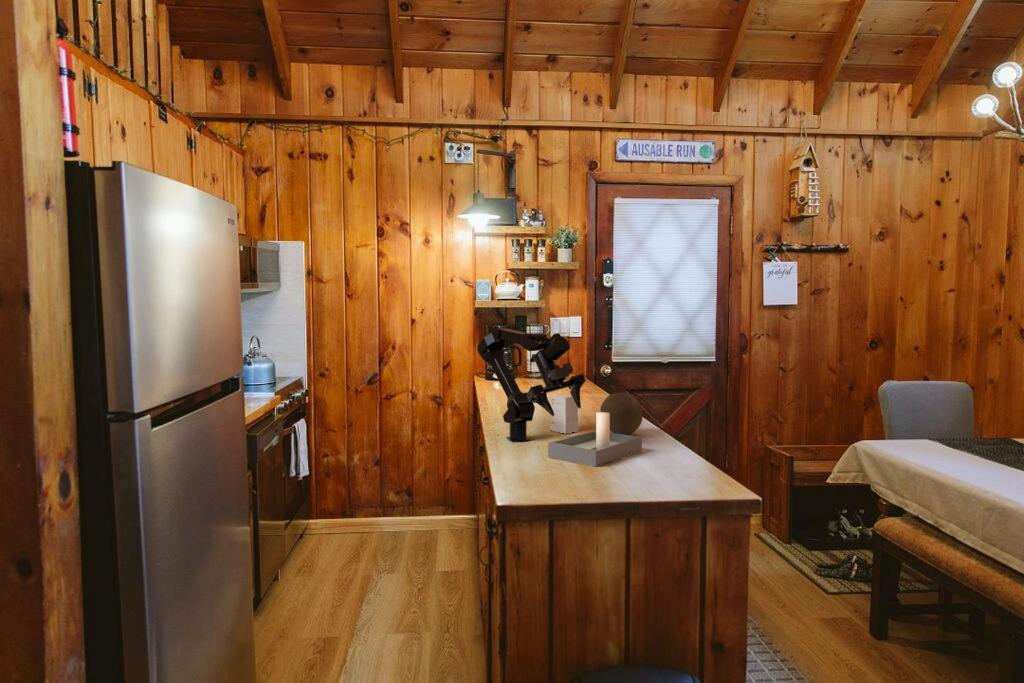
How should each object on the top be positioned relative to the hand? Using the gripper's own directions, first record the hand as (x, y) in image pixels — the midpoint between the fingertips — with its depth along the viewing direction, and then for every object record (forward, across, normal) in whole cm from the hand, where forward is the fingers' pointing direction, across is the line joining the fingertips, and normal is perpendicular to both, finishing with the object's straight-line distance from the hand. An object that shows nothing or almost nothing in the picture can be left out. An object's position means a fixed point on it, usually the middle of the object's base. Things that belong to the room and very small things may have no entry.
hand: (566, 411), depth 201 cm
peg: (+16, +6, +1) cm, 17 cm away
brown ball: (+7, +26, +22) cm, 35 cm away
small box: (-3, +11, +33) cm, 35 cm away
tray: (+15, +4, +3) cm, 16 cm away
